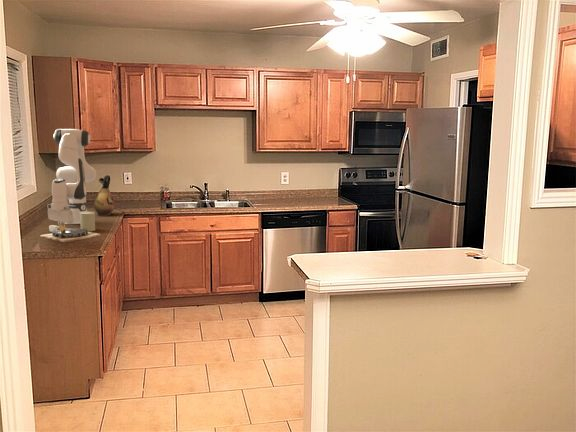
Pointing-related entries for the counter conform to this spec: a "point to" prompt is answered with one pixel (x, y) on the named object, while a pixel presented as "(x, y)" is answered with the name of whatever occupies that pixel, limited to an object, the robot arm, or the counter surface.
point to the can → (87, 221)
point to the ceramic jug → (104, 198)
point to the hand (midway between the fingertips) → (61, 228)
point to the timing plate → (69, 239)
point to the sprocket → (69, 232)
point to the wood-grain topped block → (53, 228)
